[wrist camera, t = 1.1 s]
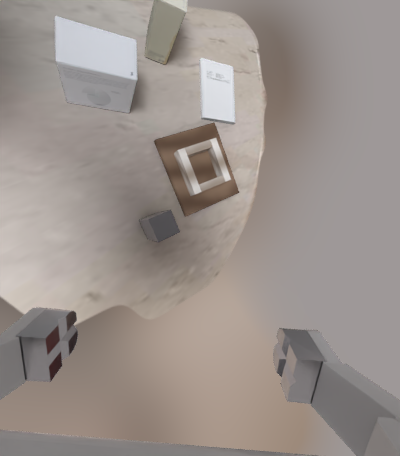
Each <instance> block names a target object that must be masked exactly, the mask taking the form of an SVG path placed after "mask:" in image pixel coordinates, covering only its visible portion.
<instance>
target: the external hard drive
mask: <svg viewBox="0 0 400 456" xmlns="http://www.w3.org/2000/svg"><path fill="white" fill-rule="evenodd" d="M199 68H200V100H201V119H204V120H210V121H216V122H222V123H228V124H235V99H234V70H233V67H232V66H229V65H226V64H222V63H219V62H215V61H212V60H208V59H205V58H200V60H199Z"/></svg>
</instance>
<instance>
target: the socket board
mask: <svg viewBox="0 0 400 456" xmlns="http://www.w3.org/2000/svg"><path fill="white" fill-rule="evenodd" d="M154 142H155V145H156V147H157V150H158V152H159V155H160V157H161V159H162V162H163V164H164V167H165V169H166V172H167V174H168V176H169V179H170V181H171V184H172V186H173V189H174V191H175V194H176V196H177V198H178V201H179V203H180V206H181V208H182V211H183V213H184V215H185V216H188V215H190V214H193V213H195V212H197V211H199V210H201V209H204V208H206V207H208V206H210V205H212V204H215V203H217V202H219V201H221V200H223V199H226V198H228V197H230V196H232V195H234V194H237V193H239V191H238V188H237V185H236V182H235V179H234V177H233V174H232V171H231V168H230V165H229V163H228V160H227V157H226V154H225V151H224V149H223V146H222V143H221V140H220V137H219V134H218V132H217V129H216V126H215V123H211V124H208V125H204V126H201V127H197V128H194V129H191V130H187V131H184V132H180V133H177V134H174V135H170V136H167V137H163V138H160V139H157V140H155V141H154Z"/></svg>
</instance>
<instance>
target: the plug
mask: <svg viewBox="0 0 400 456" xmlns="http://www.w3.org/2000/svg"><path fill="white" fill-rule="evenodd" d="M139 222H140V224H141V226H142V228H143V231H144V233H145V235H146V237H147V239H149V240H152V241H156V242H160V241H162V240H164V239H167V238H169V237H171V236H173V235H175V234H177V233H179V232H180V231H179V228H178V226H177V224H176V221H175V219H174V216H173V214H172V212H171V210H167V211H162V212H157V213H155V214H152V215H150V216H148V217H145V218H143V219H141V220H139Z"/></svg>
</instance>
